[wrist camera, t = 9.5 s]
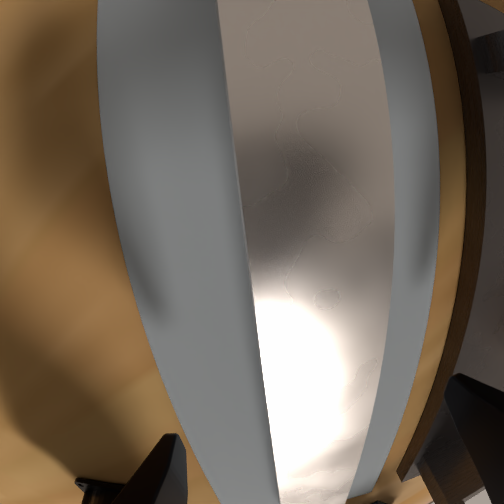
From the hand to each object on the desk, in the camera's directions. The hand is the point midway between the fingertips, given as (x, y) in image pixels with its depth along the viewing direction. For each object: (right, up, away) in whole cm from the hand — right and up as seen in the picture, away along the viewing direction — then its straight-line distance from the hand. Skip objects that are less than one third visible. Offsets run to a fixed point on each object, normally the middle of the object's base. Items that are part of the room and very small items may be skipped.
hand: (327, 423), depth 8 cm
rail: (0, +1, +3) cm, 3 cm away
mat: (0, +1, +4) cm, 4 cm away
